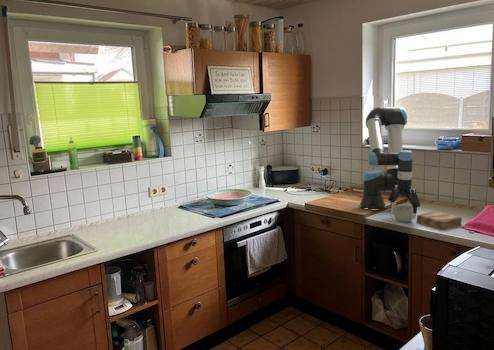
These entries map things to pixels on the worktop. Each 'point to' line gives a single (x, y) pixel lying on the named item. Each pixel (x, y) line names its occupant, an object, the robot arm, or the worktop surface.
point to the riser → (439, 220)
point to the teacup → (402, 213)
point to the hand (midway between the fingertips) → (403, 216)
